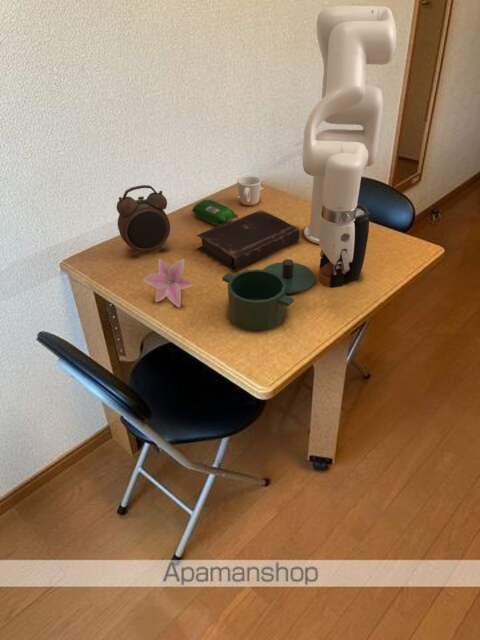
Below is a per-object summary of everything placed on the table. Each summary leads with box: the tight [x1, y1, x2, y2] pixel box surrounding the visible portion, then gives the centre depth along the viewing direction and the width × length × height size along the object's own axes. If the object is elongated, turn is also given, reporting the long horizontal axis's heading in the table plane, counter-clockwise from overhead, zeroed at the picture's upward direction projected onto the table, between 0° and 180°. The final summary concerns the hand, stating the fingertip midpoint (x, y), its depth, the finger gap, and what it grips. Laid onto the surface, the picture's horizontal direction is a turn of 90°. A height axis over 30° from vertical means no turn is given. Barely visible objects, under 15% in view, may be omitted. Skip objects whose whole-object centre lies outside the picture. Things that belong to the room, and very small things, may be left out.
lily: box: [142, 258, 194, 308], centre depth 127 cm, size 12×12×10 cm
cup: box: [237, 175, 262, 206], centre depth 168 cm, size 11×8×8 cm
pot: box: [221, 268, 295, 332], centre depth 120 cm, size 14×19×8 cm
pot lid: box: [262, 258, 316, 295], centre depth 132 cm, size 15×15×6 cm
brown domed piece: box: [317, 262, 340, 288], centre depth 120 cm, size 6×6×5 cm
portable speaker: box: [338, 202, 371, 284], centre depth 129 cm, size 9×9×20 cm
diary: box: [196, 209, 301, 272], centre depth 147 cm, size 19×25×5 cm
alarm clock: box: [116, 184, 171, 258], centre depth 141 cm, size 15×7×20 cm, turn 114°
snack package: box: [191, 198, 239, 227], centre depth 160 cm, size 7×16×5 cm, turn 46°
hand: (330, 278), depth 121 cm, fingers closed on brown domed piece, 6 cm apart
